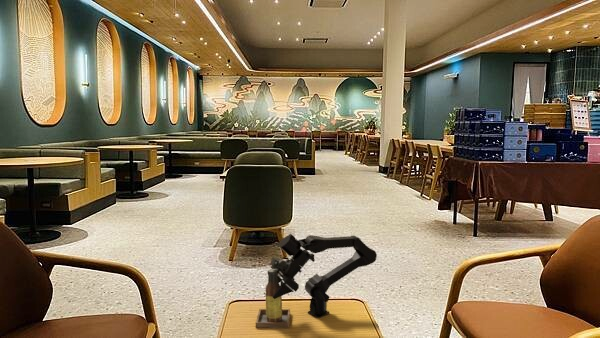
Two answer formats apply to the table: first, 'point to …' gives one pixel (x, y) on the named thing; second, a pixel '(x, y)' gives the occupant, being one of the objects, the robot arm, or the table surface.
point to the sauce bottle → (273, 304)
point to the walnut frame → (263, 322)
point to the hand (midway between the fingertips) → (269, 293)
